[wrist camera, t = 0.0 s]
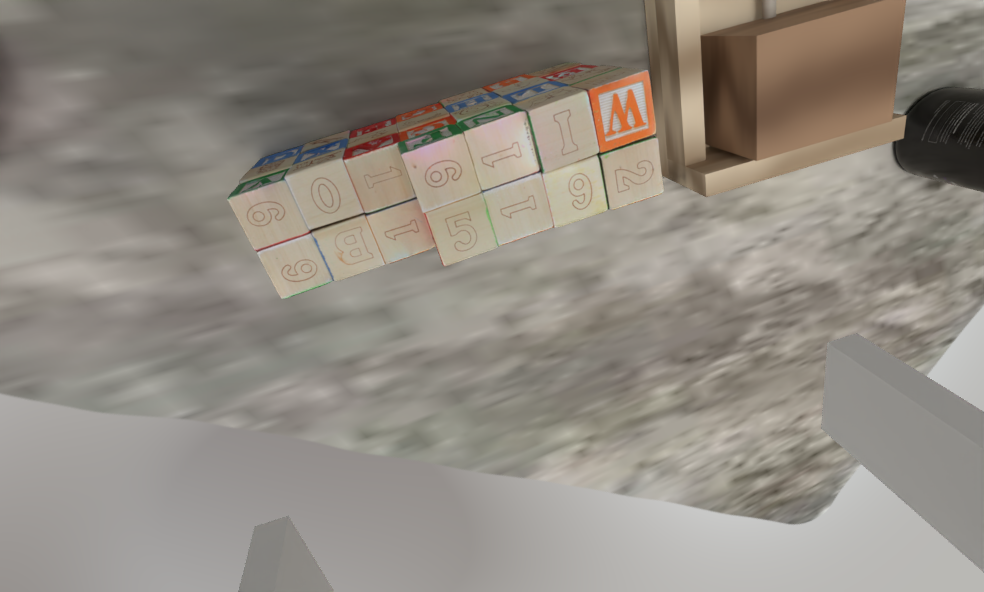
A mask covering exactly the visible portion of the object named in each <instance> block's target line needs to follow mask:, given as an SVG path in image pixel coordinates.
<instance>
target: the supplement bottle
mask: <svg viewBox="0 0 984 592" xmlns="http://www.w3.org/2000/svg"><path fill="white" fill-rule="evenodd" d="M896 156H897V159H898V162H899V163H900V165H901V166H902V167H903V169H905V170H906V171H908V172H909V173H912V174H914V175H918V176H922V177H925V178H929V179H933V180H937V181H941V182H945V183H949V184H953V185H957V186H961V187H965V188H969V189H973V190H977V191H981V192H984V90H983V89H972V88H957V87H950V88H944V89H940V90H937V91H935V92H933V93H931V94H929V95H927V96H926V97H924V98H923V99H922V100H920V101H919V102H918V103H917V104H916V105H915V106H914V107H913V108H912V109H911V110H910V112H909V113H908V114H907V116H906V124H905V131H904V138H903V139H900V140H896Z"/></svg>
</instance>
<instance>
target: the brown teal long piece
mask: <svg viewBox="0 0 984 592" xmlns="http://www.w3.org/2000/svg"><path fill="white" fill-rule="evenodd" d="M905 4H906V0H827V1H823V2H819V3H816V4H812V5H809V6H805V7H801V8H798V9H794V10H791V11H787V12H783V13H780V14H776V0H762V19H758V20H755V21H751V22H747V23H744V24H740V25H737V26H733V27H729V28H726V29H722V30H718V31H715V32H711V33H708V34H704V35H700V39H701V61H702V83H703V105H704V127H705V144H706V145H709V146H712V147H716V148H719V149H722V150H725V151H728V152H731V153H734V154H737V155H740V156H743V157H746V158H749V159H752V160H755V161H759V160H762V159H765V158H769V157H772V156H776V155H779V154H782V153H786V152H789V151H793V150H796V149H799V148H803V147H806V146H809V145H813V144H816V143H820V142H823V141H826V140H830V139H833V138H837V137H840V136H843V135H847V134H850V133H854V132H857V131H860V130H864V129H867V128H870V127H874V126H877V125H881V124H884V123H887V122H891V121H892V117H893V108H894V99H895V91H896V82H897V73H898V65H899V56H900V47H901V39H902V30H903V21H904V13H905Z"/></svg>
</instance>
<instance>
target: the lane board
mask: <svg viewBox="0 0 984 592" xmlns="http://www.w3.org/2000/svg"><path fill="white" fill-rule="evenodd" d="M823 1H827V0H776V14H780V13H783V12H787V11H791V10H794V9H798V8H801V7H805V6H809V5H812V4H816V3H819V2H823ZM644 2H645V14H646V25H647V37H648V48H649V60H650V71H651V82H652V94H653V105H654V115H655V122H656V138H658V144H659V155H660V164H661V173H662V176H664V177H666V178H668V179H670V180H672V181H674V182H676V183H679V184H681V185H683V186H685V187H687V188H689V189H691V190H693V191H695V192H697V193H699V194H701V195H703V196H705V197H708V196H712V195H715V194H718V193H722V192H725V191H729V190H732V189H735V188H739V187H742V186H745V185H749V184H752V183H755V182H759V181H762V180H765V179H769V178H772V177H776V176H779V175H782V174H786V173H789V172H792V171H796V170H799V169H802V168H806V167H809V166H812V165H816V164H819V163H822V162H826V161H829V160H833V159H836V158H839V157H843V156H846V155H849V154H853V153H856V152H859V151H863V150H866V149H869V148H873V147H876V146H880V145H883V144H886V143H890V142H893V141H896V140H900V139H903V138H904V131H905V124H906V116H907V115H901V114H894V113H893V117H892V121H891V122H887V123H884V124H881V125H877V126H874V127H870V128H867V129H864V130H860V131H857V132H854V133H850V134H847V135H843V136H840V137H837V138H833V139H830V140H826V141H823V142H820V143H816V144H813V145H809V146H806V147H803V148H799V149H796V150H793V151H789V152H786V153H782V154H779V155H776V156H772V157H769V158H765V159H762V160H759V161H755V160H752V159H749V158H746V157H743V156H740V155H737V154H734V153H731V152H728V151H725V150H722V149H719V148H716V147H712V146H709V145H706V144H705V127H704V105H703V83H702V61H701V39H700V35H704V34H708V33H711V32H715V31H718V30H722V29H726V28H729V27H733V26H737V25H740V24H744V23H747V22H751V21H755V20H758V19H762V0H644Z"/></svg>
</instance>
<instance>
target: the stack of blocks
mask: <svg viewBox="0 0 984 592" xmlns="http://www.w3.org/2000/svg"><path fill="white" fill-rule="evenodd" d="M655 133H656V122H655V115H654V106H653V99H652V91H651V84H650V77H649V72H648V70H645V69H629V68H622V67H615V66H606V65H601V66H592V65H582V64H581V63H563V64H560V65H557V66H554V67H551V68H547V69H544V70H541V71H537V72H534V73H531V74H528V75H525V74H524V75H520V76H517V77H514V78H510V79H507V80H504V81H501V82H498V83H495V84H491V85H488V86H485V87H482V88H478V89H475V90H471V91H468V92H465V93H461V94H458V95H455V96H452V97H449V98H446V99H443V100H440V101H439V102H438V103H437V104H434V105H429V106H427V107H424V108H421V109H417V110H414V111H411V112H408V113H405V114H401V115H398V116H396V117H395V118H392V119H389V120H385V121H382V122H379V123H376V124H373V125H370V126H367V127H363V128H360V129H357V130H354V131H352V132H351V131H350V130H347V131H344V132H341V133H337V134H334V135H331V136H328V137H325V138H322V139H318V140H315V141H312V142H309V143H306V144H305V145H302V146H299V147H295V148H292V149H289V150H286V151H283V152H280V153H277V154H274V155H271V156H267V157H264V158H262V159H260V160H259V161H258V162H257V163H256V164H255V165H254V166H253V167H252V168H251V169H250V170H249V171H248V172H247V173H246V174H245V175H244V176H243V178H242V179H241V180H240V181H239V184H240V185H238V186H237V187H236V189H235V190H234V191H233V192H232V193H231V194H230V196H229V197H228V198H227V200H228V202H229V203H230V205H231V207H232V209H233V211H234V213H235V215H236V217H237V219H238V220H239V222H240V224H241V226H242V228H243V230H244V232H245V234H246V236H247V238H248V239H249V241H250V243H251V245H252V247H253V249H254V250H256V251H257V254H258V256H259V258H260V260H261V262H262V264H263V266H264V268H265V270H266V271H267V273H268V275H269V277H270V279H271V280H272V283H273V285H274V286H275V288H276V290H277V292H278V294H279V296H280V297H281V299H285V298H289V297H291V296H294V295H297V294H300V293H303V292H305V291H308V290H311V289H314V288H317V287H320V286H323V285H325V284H328V283H330V282H332V281H340V280H343V279H346V278H349V277H352V276H355V275H358V274H360V273H363V272H366V271H369V270H371V269H375V268H378V267H381V266H383V265H385V264H390V263H394V262H396V261H399V260H402V259H405V258H408V257H410V256H413V255H416V254H419V253H421V252H424V251H427V250H429V249H431V248H433V247H435V246H436V247H437V250H438V253H439V255H440V258H441V261H442V264H443V266H448V265H451V264H454V263H457V262H459V261H462V260H465V259H468V258H470V257H473V256H476V255H479V254H482V253H485V252H488V251H491V250H494V249H496V248H497V247H499V246H501V245H504V244H507V243H510V242H513V241H516V240H519V239H522V238H525V237H527V236H530V235H533V234H536V233H539V232H542V231H545V230H547V229H550V228H552V227H553V228H558V227H561V226H564V225H567V224H570V223H573V222H576V221H579V220H582V219H585V218H588V217H591V216H594V215H597V214H600V213H603V212H605V211H607V210H608V209H609V210H614V209H617V208H620V207H623V206H626V205H630V204H633V203H636V202H639V201H642V200H645V199H648V198H651V197H654V196H657V195H660V194H661V193H663V190H664V189H663V182H662V173H661V164H660V155H659V144H658V138H656V137H655V136H654V134H655Z"/></svg>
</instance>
